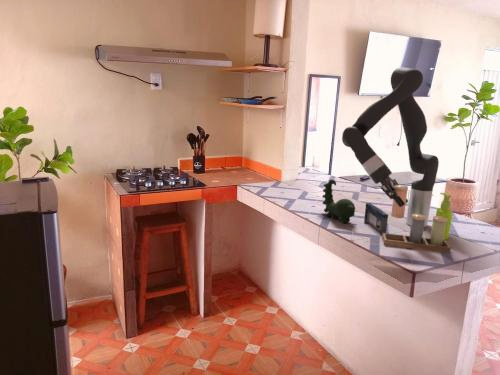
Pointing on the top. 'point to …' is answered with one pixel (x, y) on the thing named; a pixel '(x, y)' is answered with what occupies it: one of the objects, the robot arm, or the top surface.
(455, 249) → the top surface
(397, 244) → the walnut spice rack
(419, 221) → the slate blue jar
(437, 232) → the olive jar
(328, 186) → the toy figurine
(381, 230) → the vhs cassette tape
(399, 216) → the terracotta jar
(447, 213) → the soap dispenser
